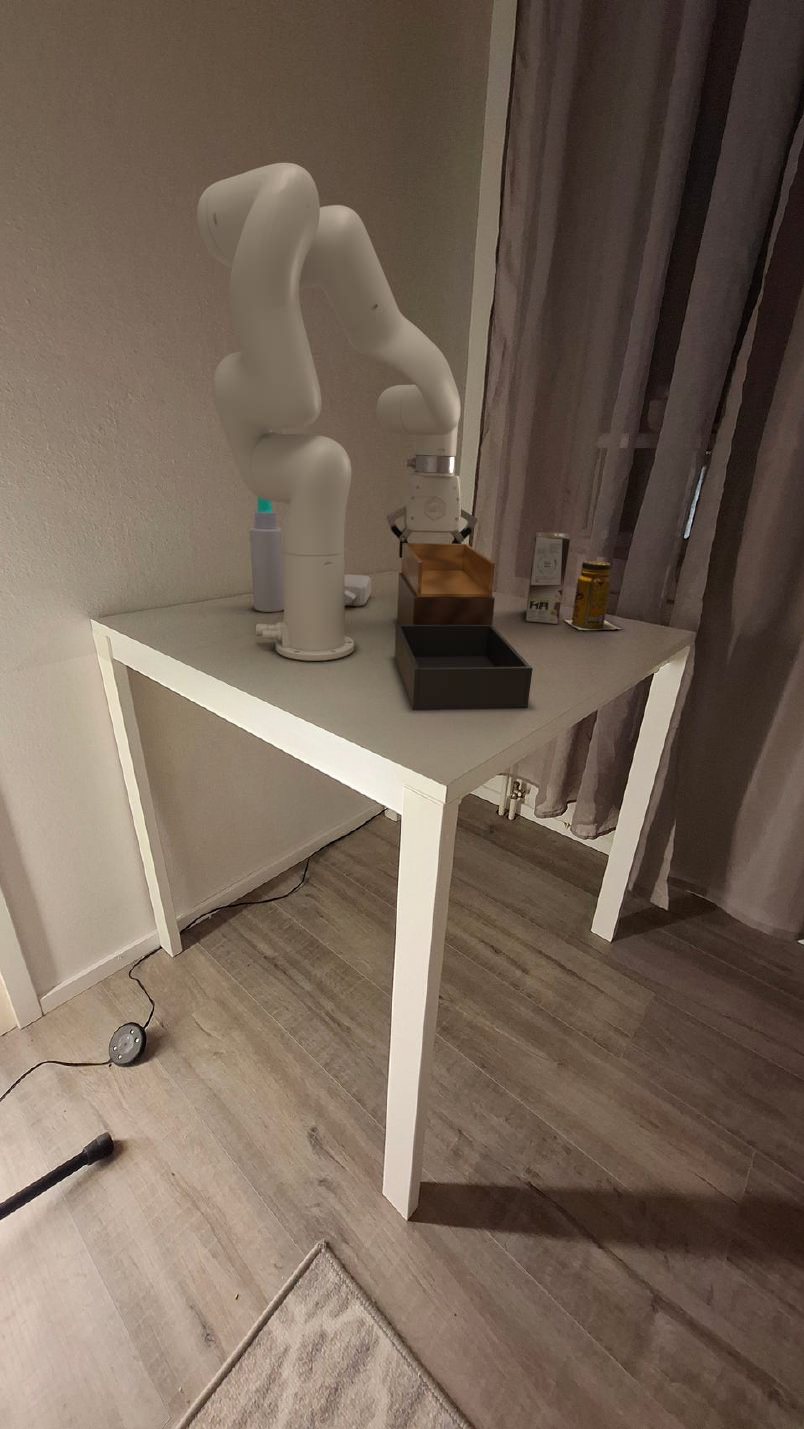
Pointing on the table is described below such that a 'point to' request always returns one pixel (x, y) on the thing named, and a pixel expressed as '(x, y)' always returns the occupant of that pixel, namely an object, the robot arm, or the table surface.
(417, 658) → the basket
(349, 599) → the charger
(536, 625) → the table surface
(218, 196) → the robot arm
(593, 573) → the condiment
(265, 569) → the spray bottle
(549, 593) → the coffee box
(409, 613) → the stand
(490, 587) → the pour box
